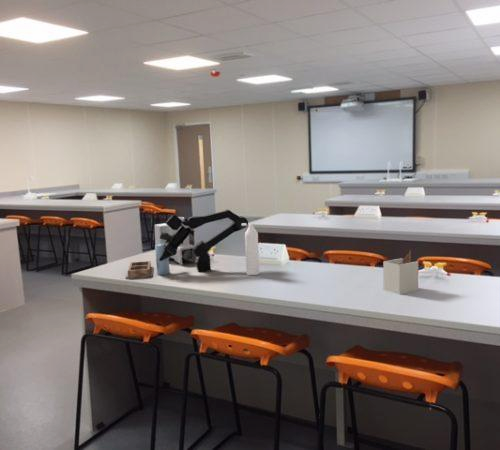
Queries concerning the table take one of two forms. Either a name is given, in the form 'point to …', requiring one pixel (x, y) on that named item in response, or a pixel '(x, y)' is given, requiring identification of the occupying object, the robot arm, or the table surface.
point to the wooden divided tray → (139, 270)
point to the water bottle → (251, 250)
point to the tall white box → (400, 275)
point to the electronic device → (184, 249)
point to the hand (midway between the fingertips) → (159, 259)
